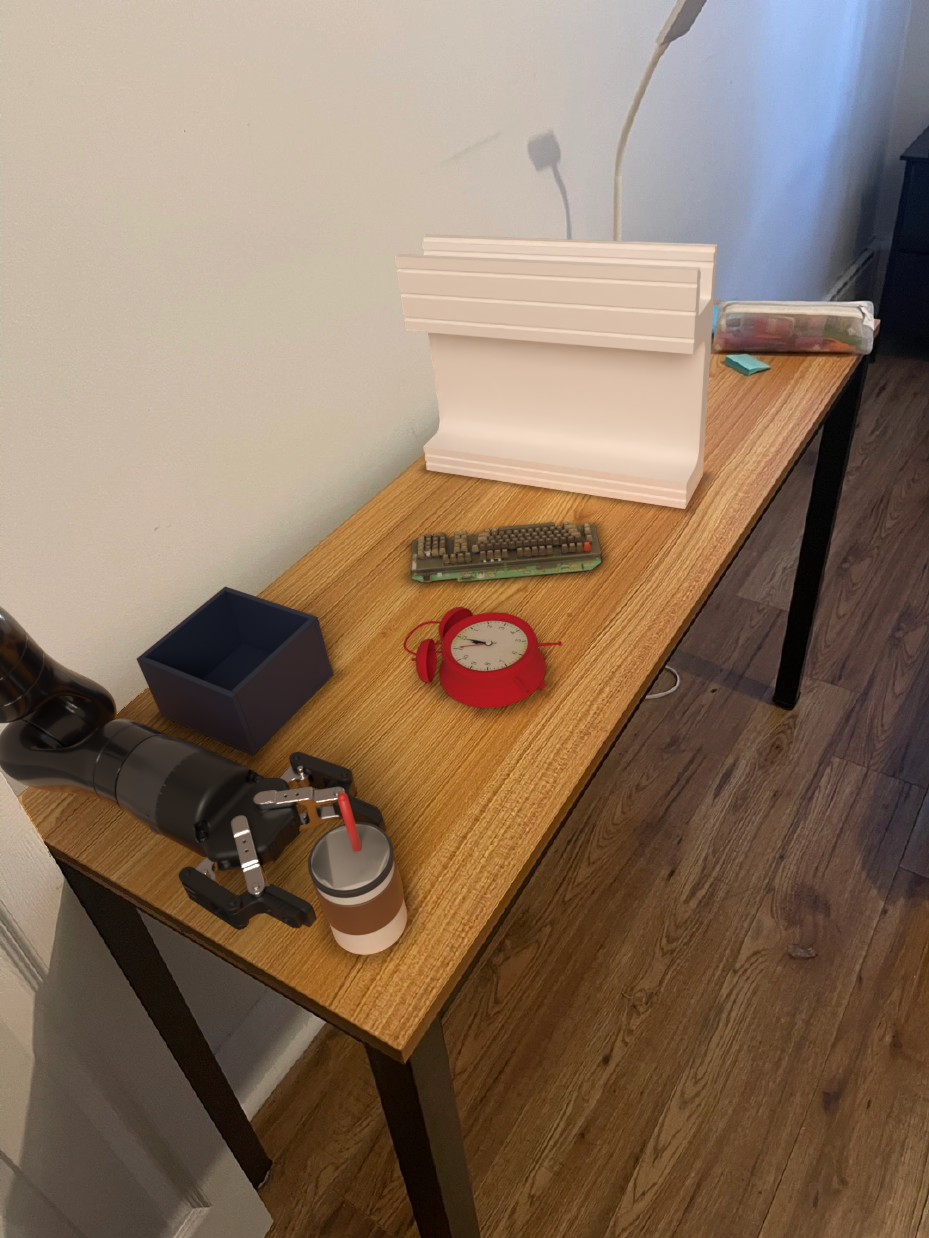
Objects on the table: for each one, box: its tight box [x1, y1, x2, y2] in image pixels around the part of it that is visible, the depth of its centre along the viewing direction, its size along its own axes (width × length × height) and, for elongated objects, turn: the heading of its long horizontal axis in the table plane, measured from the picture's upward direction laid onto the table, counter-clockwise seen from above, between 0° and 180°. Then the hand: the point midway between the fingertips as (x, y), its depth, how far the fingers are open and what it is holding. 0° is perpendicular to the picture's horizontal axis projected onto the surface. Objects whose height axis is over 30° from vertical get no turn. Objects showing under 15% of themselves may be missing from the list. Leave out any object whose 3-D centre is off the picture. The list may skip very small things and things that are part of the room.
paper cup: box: [307, 792, 408, 956], centre depth 65 cm, size 6×6×14 cm
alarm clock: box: [403, 606, 563, 709], centre depth 89 cm, size 10×6×15 cm
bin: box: [136, 586, 334, 757], centre depth 89 cm, size 12×12×8 cm
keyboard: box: [409, 521, 603, 584], centre depth 104 cm, size 22×9×2 cm, turn 90°
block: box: [394, 234, 718, 510], centre depth 109 cm, size 35×8×28 cm, turn 64°
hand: (348, 870), depth 66 cm, fingers open, 8 cm apart
